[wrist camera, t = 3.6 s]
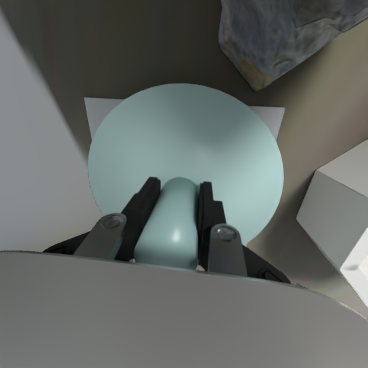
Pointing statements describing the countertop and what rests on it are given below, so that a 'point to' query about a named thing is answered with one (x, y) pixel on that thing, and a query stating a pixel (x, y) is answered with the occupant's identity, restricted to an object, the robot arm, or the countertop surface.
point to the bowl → (341, 215)
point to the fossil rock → (281, 33)
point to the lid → (185, 166)
